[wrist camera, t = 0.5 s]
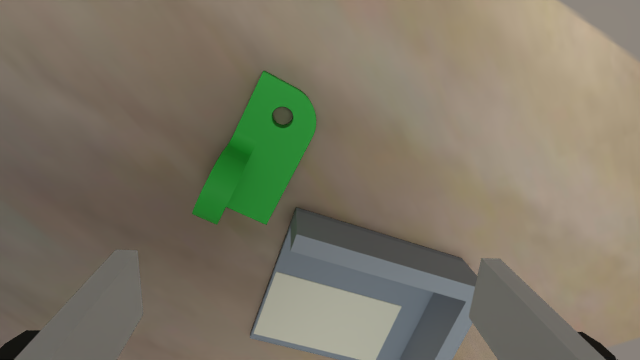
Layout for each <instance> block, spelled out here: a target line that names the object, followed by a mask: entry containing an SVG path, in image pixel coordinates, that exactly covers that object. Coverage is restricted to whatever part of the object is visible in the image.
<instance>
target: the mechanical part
mask: <svg viewBox="0 0 640 360" xmlns="http://www.w3.org/2000/svg"><path fill="white" fill-rule="evenodd" d="M278 107H287V108H288V109H290V110H291V112H292V114H293V119H292V121H291V122H290V123H288V124H286V125H281V124H278V123H277V122H276V121H275V120H274V118H273V111H274V110H275V109H276V108H278ZM315 128H316V115H315V111H314V108H313V106H312V103H311V102H310V100H309V98H308V97H307V96H306V95H305V94H304V93H303V92H302V91H301V90H299V89H298V88H296V87H294V86H292V85H290V84H289V83H287V82H285V81H283V80H281V79H279V78H277V77H275V76H274V75H272V74H270V73H268V72H266V71H263V73H262V75H261V77H260V79H259V81H258V84H257V86H256V88H255V90H254V92H253V94H252V96H251V98H250V101H249V103H248V105H247V107H246V109H245V111H244V113H243V115H242V118H241V120H240V122H239V124H238V126H237V128H236V130H235V132H234V134H233V136H232V138H231V140H230V142H229V144H228V145H227V147H226V148H225V149H224V150H223V152H222V153H221V155H220V157H219V158H218V160H217V162H216V164H215V165H214V167H213V169H212V171H211V173H210V175H209V177H208V179H207V181H206V183H205V185H204V187H203V189H202V191H201V193H200V195H199V198H198V200H197V202H196V204H195V207H194V209H193V212H192V214H194V215H196V216H198V217H201V218H203V219H205V220H207V221H210V222H212V223H214V224H218V222H219V220H220V218H221V216H222V214H223V212H224V210H225V208H226V207H227V208H230V209H232V210H234V211H236V212H239V213H241V214H243V215H245V216H248V217H250V218H252V219H254V220H257V221H259V222H261V223H263V224H267V222H268V221H269V219H270V217H271V215H272V213H273V211H274V209H275V207H276V205H277V204H278V202H279V200H280V198H281V196H282V194H283V192H284V190H285V188H286V186H287V185H288V183H289V181H290V179H291V177H292V175H293V173H294V171H295V169H296V168H297V166H298V164H299V162H300V160H301V158H302V156H303V154H304V152H305V151H306V149H307V147H308V145H309V143H310V141H311V139H312V137H313V135H314V132H315Z"/></svg>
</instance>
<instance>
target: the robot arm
mask: <svg viewBox="0 0 640 360" xmlns="http://www.w3.org/2000/svg"><path fill="white" fill-rule="evenodd" d="M142 315H143V305H142V294H141V282H140V271H139V260H138V250H115V251H114V252H113V253H112V254H111V255H110V256H109V257H108V259H107V260H106V261H105V262H104V263H103V264H102V265H101V266H100V267H99V268H98V269H97V270H96V272H95V273H94V274H93V275H92V276H91V277H90V278H89V279H88V280H87V281H86V282H85V283H84V284H83V286H82V287H81V288H80V289H79V290H78V291H77V292H76V293H75V294H74V295H73V296H72V297H71V299H70V300H69V301H68V302H67V303H66V304H65V305H64V306H63V307H62V308H61V309H60V310H59V312H58V313H57V314H56V315H55V316H54V317H53V318H52V319H51V320H50V321H49V322H48V323H47V324H46V326H45V327H44V328H43V329H42V330H41V331H29V330H26V331H25V332H23V333H21V334H20V335H18V336H17V337H15V338H13V339H12V340H10V341H9V342H7V343H5V344H4V345H3V346H2V347H1V348H0V360H117V358H118V357H119V355H120V353H121V351H122V350H123V348H124V346H125V345H126V343H127V341H128V339H129V338H130V336H131V334H132V333H133V331H134V329H135V327H136V326H137V324H138V322H139V320H140V319H141V317H142ZM469 318H470V320H471V321H472V323H473V324H474V325H475V327H476V328H477V330H478V331H479V333H480V334H481V336H482V337H483V338H484V340H485V341H486V343H487V344H488V346H489V347H490V349H491V350H492V351H493V353H494V354H495V356H496V357H497V359H498V360H616V358H615V356H614V355H613V354H612V353H611V352H609V351H608V350H607V349H606V348H605V347H604V346H603V345H602V344H601V343H599V342H597V341H596V340H594V339H593V338H591V337H589V336H588V335H586V334H585V333H583V332H576V331H575V330H574V329H573V328H572V327H571V326H570V325H569V324H568V323H567V322H566V321H565V320H564V319H563V318H562V317H561V316H559V315H558V314H557V313H556V312H555V311H554V310H553V309H552V308H551V307H550V306H549V305H548V304H547V303H546V302H545V301H544V300H543V299H542V298H541V297H540V296H538V295H537V294H536V293H535V292H534V291H533V290H532V289H531V288H530V287H529V286H528V285H527V284H526V283H525V282H524V281H523V280H522V279H521V278H520V277H519V276H517V275H516V274H515V273H514V272H513V271H512V270H511V269H510V268H509V267H508V266H507V265H506V264H505V263H504V262H503V261H502V260H501V259H491V258H481V263H480V267H479V272H478V276H477V281H476V285H475V290H474V294H473V299H472V303H471V308H470V312H469Z"/></svg>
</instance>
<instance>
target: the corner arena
mask: <svg viewBox="0 0 640 360" xmlns="http://www.w3.org/2000/svg"><path fill="white" fill-rule="evenodd" d="M476 281H477V275H476V274H475V273H474V272H473V271H472V270H471V268H470V267H469V266H468V265H467V264H466V263H465V261H464V260H463V259H462V258H459V257H456V256H453V255H449V254H446V253H443V252H440V251H437V250H433V249H430V248H427V247H424V246H420V245H417V244H414V243H411V242H407V241H404V240H401V239H398V238H394V237H391V236H388V235H385V234H381V233H378V232H375V231H372V230H368V229H365V228H362V227H359V226H355V225H352V224H349V223H346V222H342V221H339V220H336V219H333V218H329V217H326V216H323V215H320V214H316V213H313V212H310V211H307V210H303V209H300V208H297V207H296V209H295V212H294V215H293V218H292V220H291V223H290V226H289V229H288V231H287V234H286V237H285V240H284V242H283V245H282V248H281V251H280V253H279V256H278V259H277V261H276V264H275V267H274V270H273V272H272V275H271V278H270V281H269V283H268V286H267V289H266V292H265V294H264V297H263V300H262V303H261V305H260V308H259V311H258V314H257V316H256V319H255V322H254V325H253V327H252V330H251V333H250V338H252V339H256V340H260V341H264V342H268V343H273V344H277V345H281V346H285V347H289V348H293V349H297V350H302V351H306V352H310V353H314V354H318V355H322V356H326V357H330V358H335V359H339V360H452V359H453V357H454V355H455V353H456V352H457V350H458V348H459V346H460V344H461V343H462V341H463V339H464V337H465V336H466V334H467V332H468V330H469V328H470V327H471V325H472V321H471V320H470V318H469V312H470V308H471V303H472V299H473V294H474V290H475V285H476Z"/></svg>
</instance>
